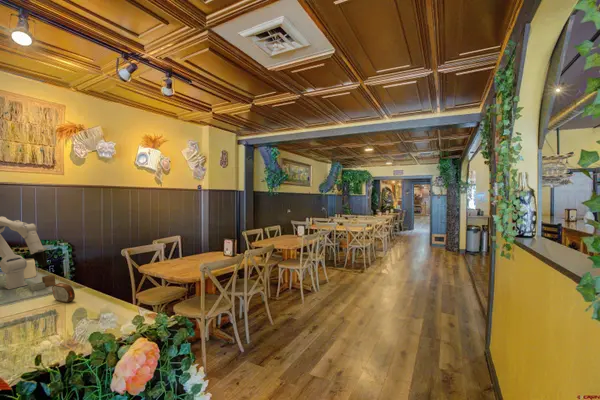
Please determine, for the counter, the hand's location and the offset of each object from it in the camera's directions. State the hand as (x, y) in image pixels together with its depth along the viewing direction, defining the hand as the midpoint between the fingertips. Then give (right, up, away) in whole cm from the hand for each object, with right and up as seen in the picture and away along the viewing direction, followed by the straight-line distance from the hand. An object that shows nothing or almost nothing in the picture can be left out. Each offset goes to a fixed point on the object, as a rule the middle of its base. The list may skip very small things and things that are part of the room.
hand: (43, 265), depth 159 cm
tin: (+31, -12, -23) cm, 41 cm away
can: (-30, -13, +22) cm, 40 cm away
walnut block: (0, -13, +3) cm, 13 cm away
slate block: (-1, -13, -2) cm, 13 cm away
